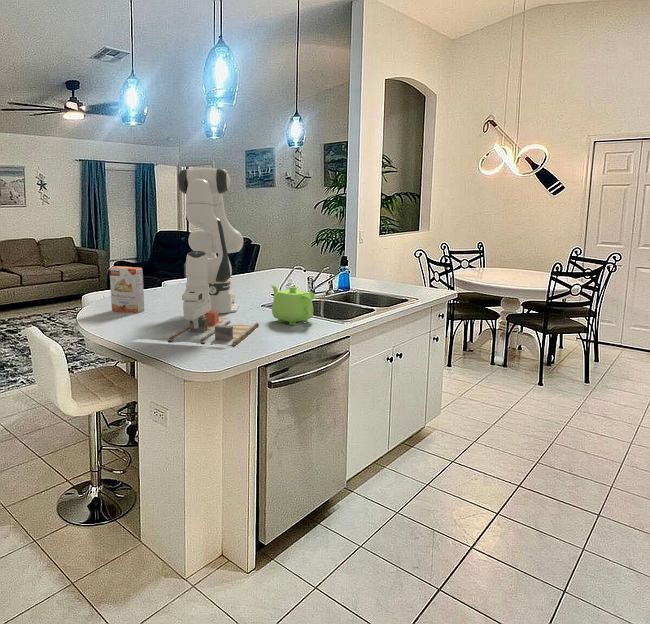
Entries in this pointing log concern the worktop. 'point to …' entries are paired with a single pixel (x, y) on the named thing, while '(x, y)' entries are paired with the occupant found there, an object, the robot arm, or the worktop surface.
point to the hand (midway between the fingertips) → (198, 326)
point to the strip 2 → (229, 332)
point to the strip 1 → (204, 325)
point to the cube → (212, 317)
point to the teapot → (292, 305)
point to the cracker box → (127, 289)
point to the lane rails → (214, 333)
